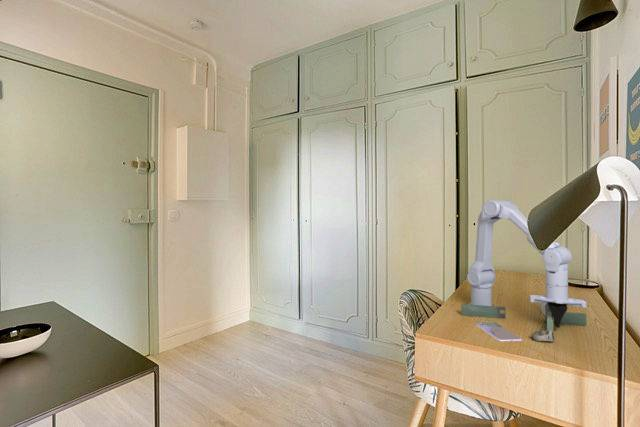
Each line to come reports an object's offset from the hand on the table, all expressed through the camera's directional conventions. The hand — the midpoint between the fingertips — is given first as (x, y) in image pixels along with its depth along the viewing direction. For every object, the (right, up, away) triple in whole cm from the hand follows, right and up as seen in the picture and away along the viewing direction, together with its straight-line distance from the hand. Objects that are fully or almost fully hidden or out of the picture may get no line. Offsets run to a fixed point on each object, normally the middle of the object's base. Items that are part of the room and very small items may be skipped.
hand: (556, 326), depth 104 cm
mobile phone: (-19, -2, +1) cm, 19 cm away
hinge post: (+7, -1, +6) cm, 10 cm away
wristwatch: (-10, -1, -4) cm, 11 cm away
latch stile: (-16, -2, +15) cm, 22 cm away
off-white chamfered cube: (+11, -2, +17) cm, 20 cm away
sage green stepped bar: (-2, -1, +1) cm, 2 cm away
